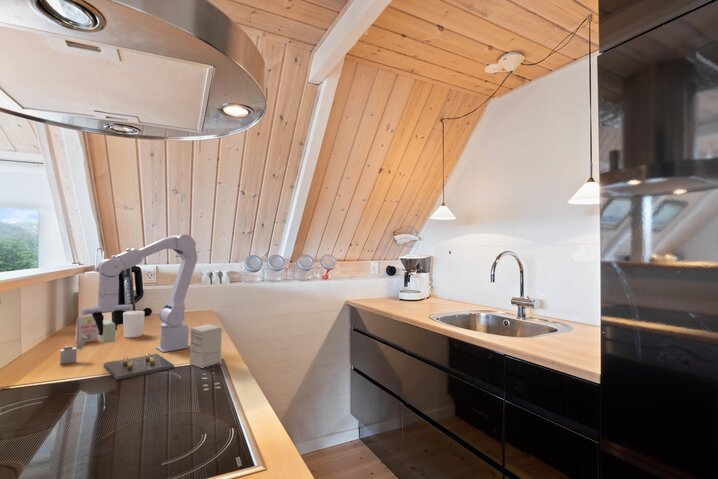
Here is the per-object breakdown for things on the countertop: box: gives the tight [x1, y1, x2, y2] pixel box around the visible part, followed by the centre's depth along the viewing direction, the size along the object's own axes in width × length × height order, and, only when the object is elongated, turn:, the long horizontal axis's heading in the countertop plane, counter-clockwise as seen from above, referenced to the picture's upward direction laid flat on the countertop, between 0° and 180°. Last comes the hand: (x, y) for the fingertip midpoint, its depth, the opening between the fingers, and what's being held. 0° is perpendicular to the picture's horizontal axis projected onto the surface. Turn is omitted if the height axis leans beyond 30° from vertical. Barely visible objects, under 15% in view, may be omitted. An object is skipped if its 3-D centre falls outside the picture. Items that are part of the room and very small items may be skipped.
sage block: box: [98, 319, 116, 344], centre depth 126 cm, size 3×8×6 cm, turn 46°
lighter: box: [59, 336, 88, 365], centre depth 123 cm, size 7×2×8 cm, turn 136°
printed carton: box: [74, 315, 99, 345], centre depth 147 cm, size 4×7×10 cm, turn 136°
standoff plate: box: [103, 353, 175, 381], centre depth 120 cm, size 16×16×3 cm
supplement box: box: [189, 323, 223, 368], centre depth 124 cm, size 7×7×13 cm
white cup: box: [122, 310, 145, 339], centre depth 157 cm, size 8×8×10 cm
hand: (107, 333), depth 126 cm, fingers closed on sage block, 3 cm apart
